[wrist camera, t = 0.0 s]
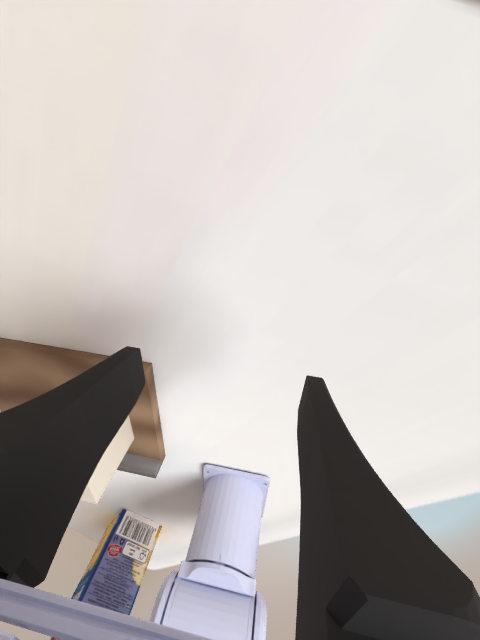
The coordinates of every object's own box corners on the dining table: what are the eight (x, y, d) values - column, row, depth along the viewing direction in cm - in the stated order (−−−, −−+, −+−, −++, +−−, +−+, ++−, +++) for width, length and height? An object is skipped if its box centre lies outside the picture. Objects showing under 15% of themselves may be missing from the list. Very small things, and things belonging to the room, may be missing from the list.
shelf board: (165, 456, 35) (155, 479, 32) (22, 426, 37) (3, 445, 35) (151, 363, 27) (137, 384, 24) (-30, 332, 29) (-59, 349, 27)
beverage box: (106, 528, 50) (-5, 747, 32) (124, 507, 45) (1, 761, 26) (140, 543, 51) (52, 764, 33) (162, 525, 46) (69, 782, 27)
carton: (128, 412, 29) (85, 478, 23) (134, 438, 32) (96, 504, 26) (87, 404, 30) (35, 467, 24) (96, 430, 32) (50, 493, 26)
